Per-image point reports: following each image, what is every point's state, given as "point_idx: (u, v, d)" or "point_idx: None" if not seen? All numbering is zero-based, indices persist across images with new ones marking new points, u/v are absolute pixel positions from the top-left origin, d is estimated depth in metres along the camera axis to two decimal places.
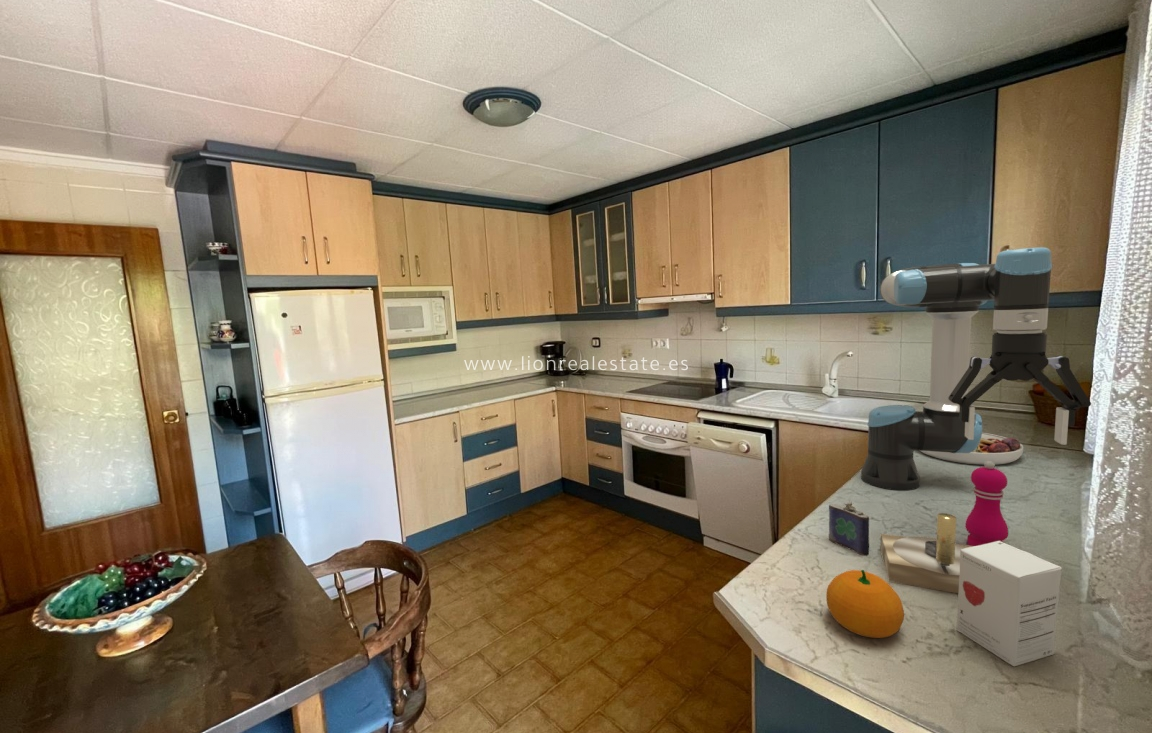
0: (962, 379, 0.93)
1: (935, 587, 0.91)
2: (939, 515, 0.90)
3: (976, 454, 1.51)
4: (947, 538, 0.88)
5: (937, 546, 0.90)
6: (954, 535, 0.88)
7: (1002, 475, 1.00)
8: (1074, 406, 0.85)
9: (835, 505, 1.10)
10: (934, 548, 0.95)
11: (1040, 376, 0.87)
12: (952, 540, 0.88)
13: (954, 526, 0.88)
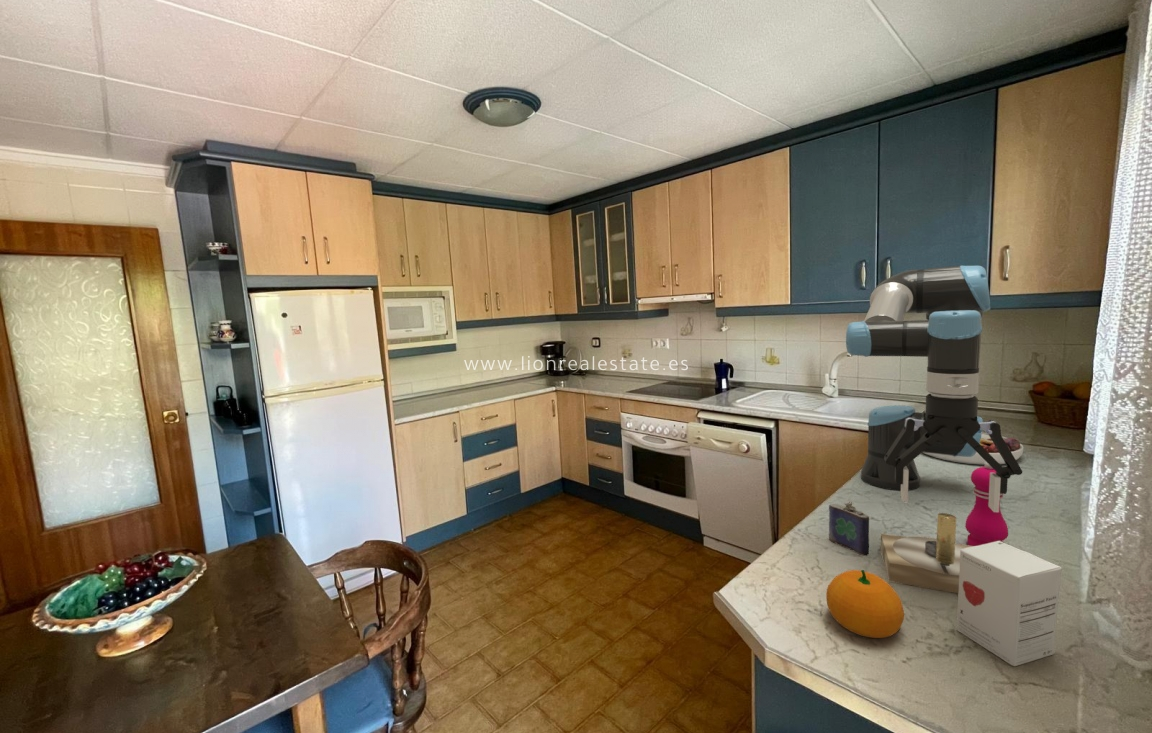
0: (896, 440, 0.91)
1: (935, 587, 0.91)
2: (939, 515, 0.90)
3: (976, 454, 1.51)
4: (947, 538, 0.88)
5: (937, 546, 0.90)
6: (954, 535, 0.88)
7: None
8: (1006, 474, 0.83)
9: (835, 505, 1.10)
10: (934, 548, 0.95)
11: (972, 441, 0.84)
12: (952, 540, 0.88)
13: (954, 526, 0.88)
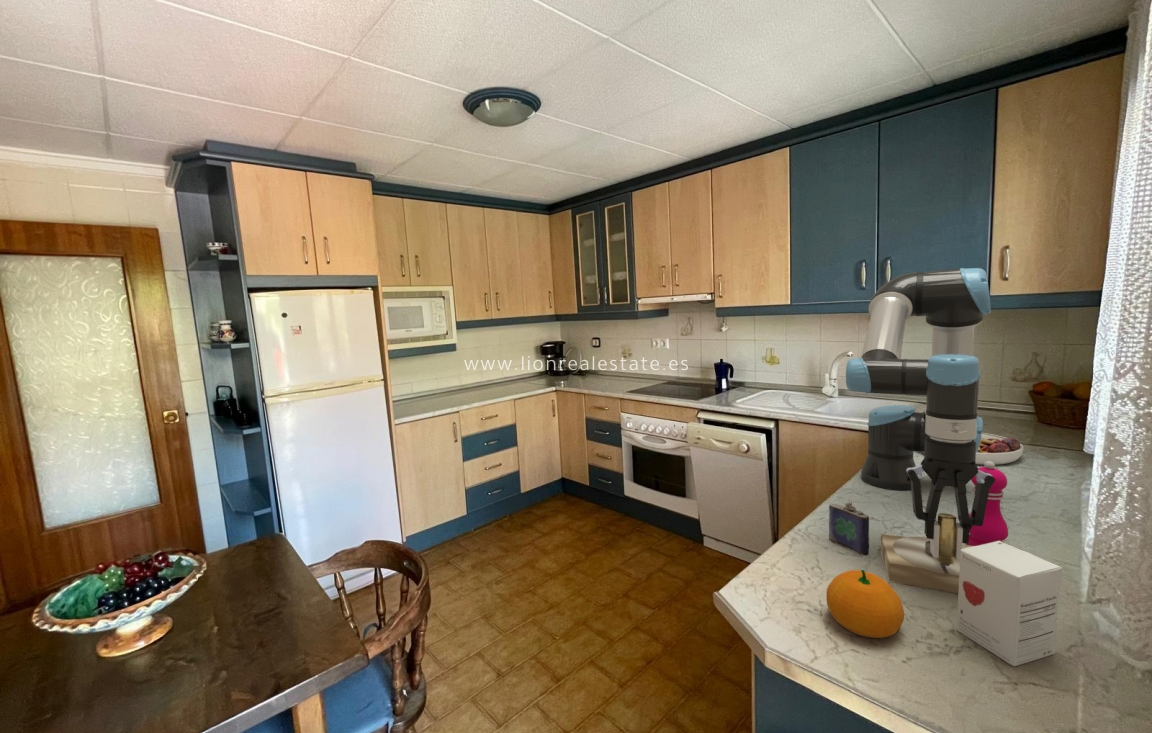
0: (912, 492, 0.91)
1: (935, 587, 0.91)
2: (939, 515, 0.90)
3: (976, 454, 1.51)
4: (947, 538, 0.88)
5: None
6: (954, 535, 0.88)
7: (1002, 475, 1.00)
8: (968, 525, 0.87)
9: (835, 505, 1.10)
10: None
11: (961, 487, 0.86)
12: (953, 540, 0.88)
13: (954, 526, 0.88)
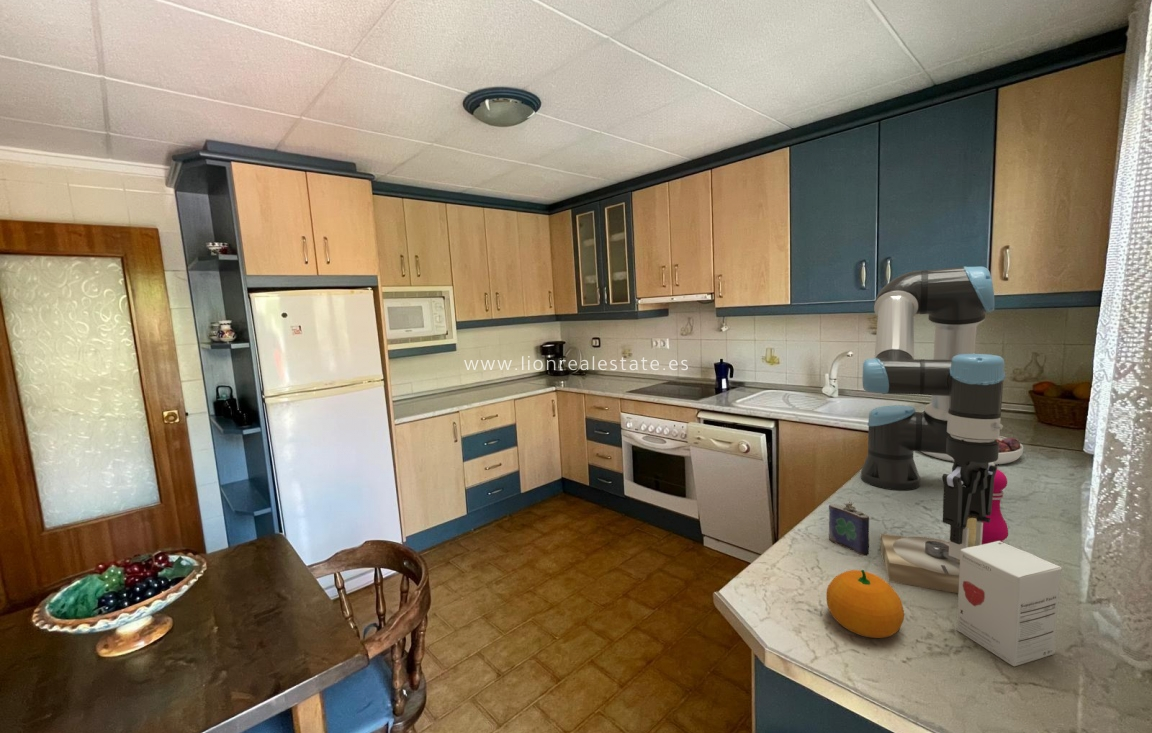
0: (949, 501, 0.86)
1: (935, 587, 0.91)
2: None
3: None
4: (972, 539, 0.88)
5: None
6: None
7: (1002, 475, 1.00)
8: (986, 518, 0.89)
9: (835, 505, 1.10)
10: (940, 549, 0.94)
11: (985, 483, 0.87)
12: (975, 540, 0.88)
13: None
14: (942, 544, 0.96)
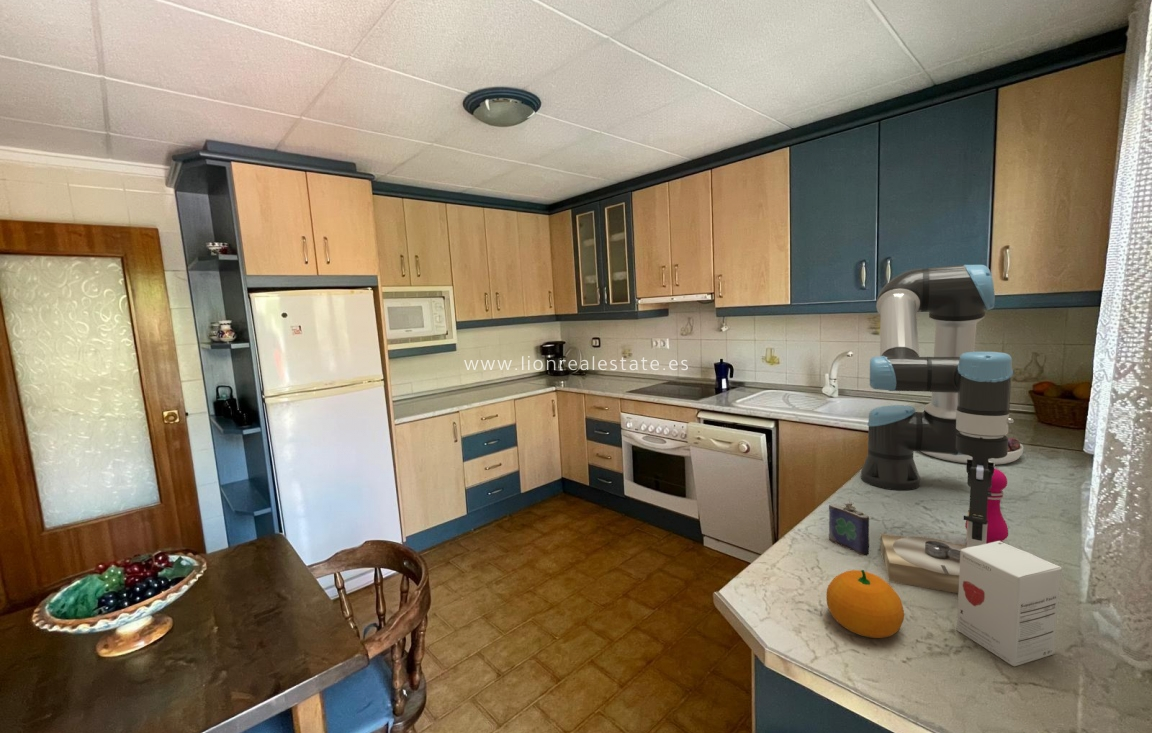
0: (977, 495, 0.84)
1: (935, 587, 0.91)
2: None
3: None
4: None
5: None
6: None
7: (1002, 475, 1.00)
8: (988, 492, 0.95)
9: (835, 505, 1.10)
10: (945, 549, 0.94)
11: None
12: None
13: None
14: (938, 543, 0.97)
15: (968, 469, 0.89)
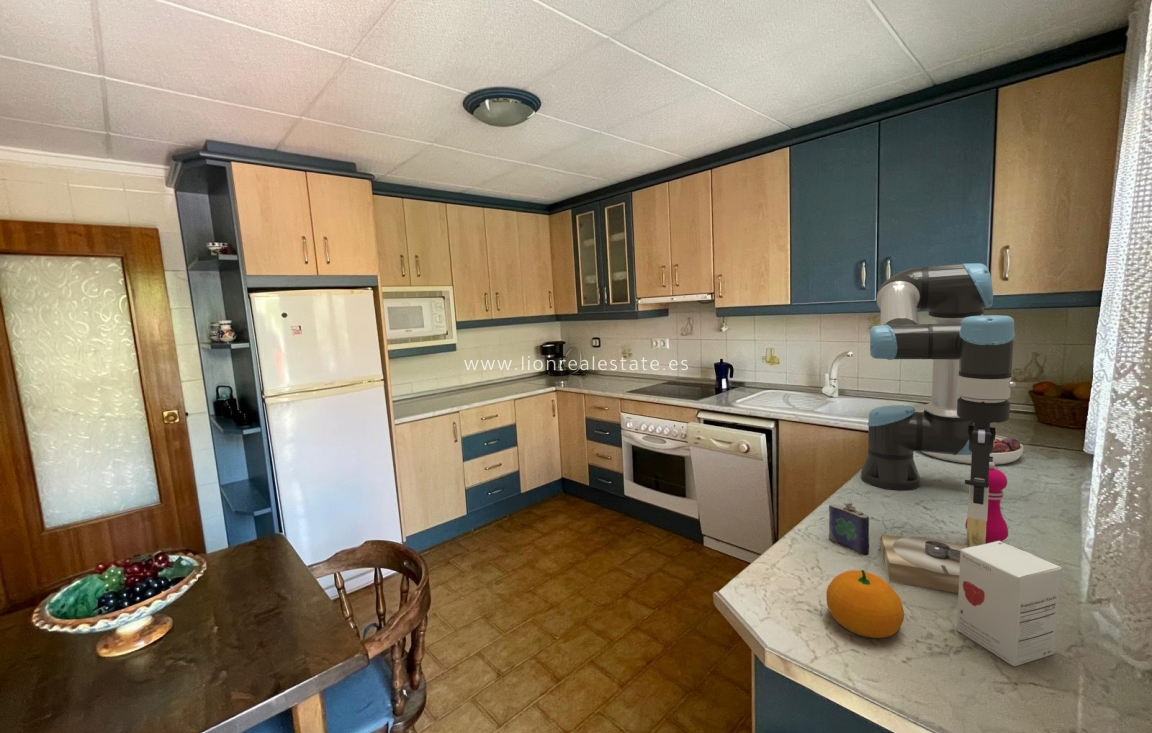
0: (978, 458, 0.83)
1: (935, 587, 0.91)
2: None
3: None
4: (985, 534, 0.89)
5: None
6: None
7: (1002, 475, 1.00)
8: (989, 458, 0.95)
9: (835, 505, 1.10)
10: (945, 549, 0.94)
11: None
12: None
13: None
14: (938, 543, 0.97)
15: (969, 434, 0.88)
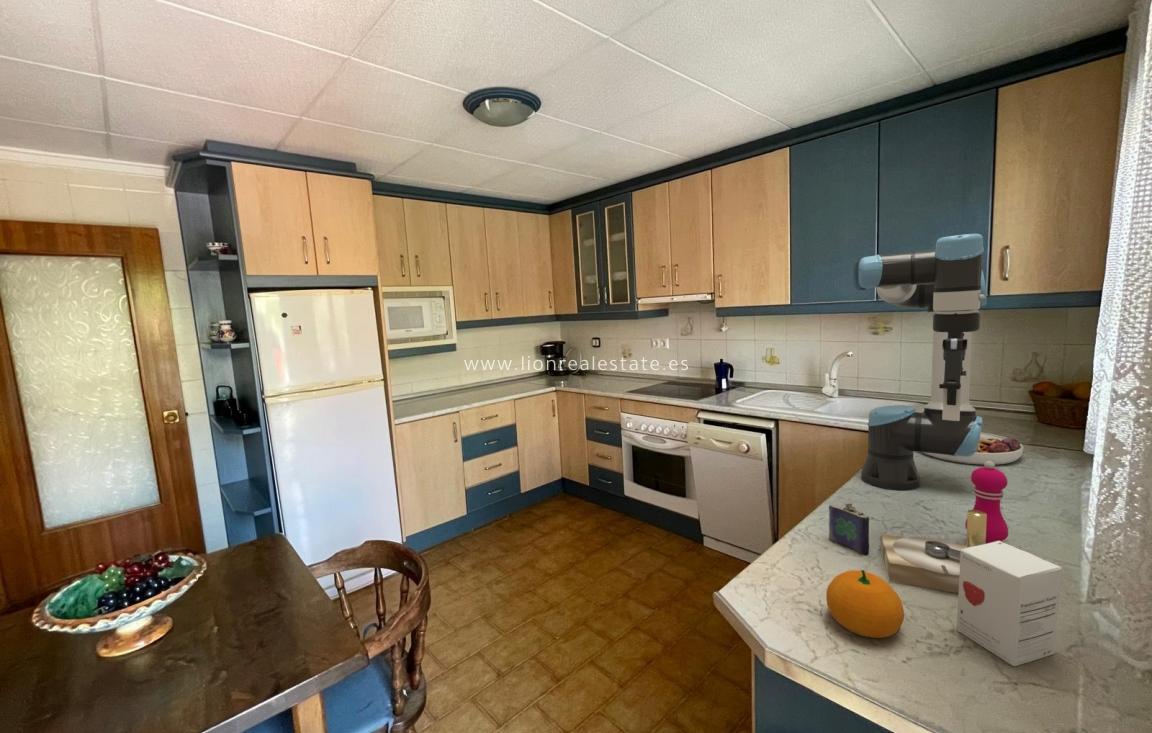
0: (951, 362, 0.91)
1: (935, 587, 0.91)
2: (975, 514, 0.89)
3: (976, 454, 1.51)
4: (985, 534, 0.89)
5: None
6: None
7: (1002, 475, 1.00)
8: (963, 372, 1.03)
9: (835, 505, 1.10)
10: (945, 549, 0.94)
11: (965, 350, 0.98)
12: None
13: None
14: (938, 543, 0.97)
15: (944, 345, 0.96)
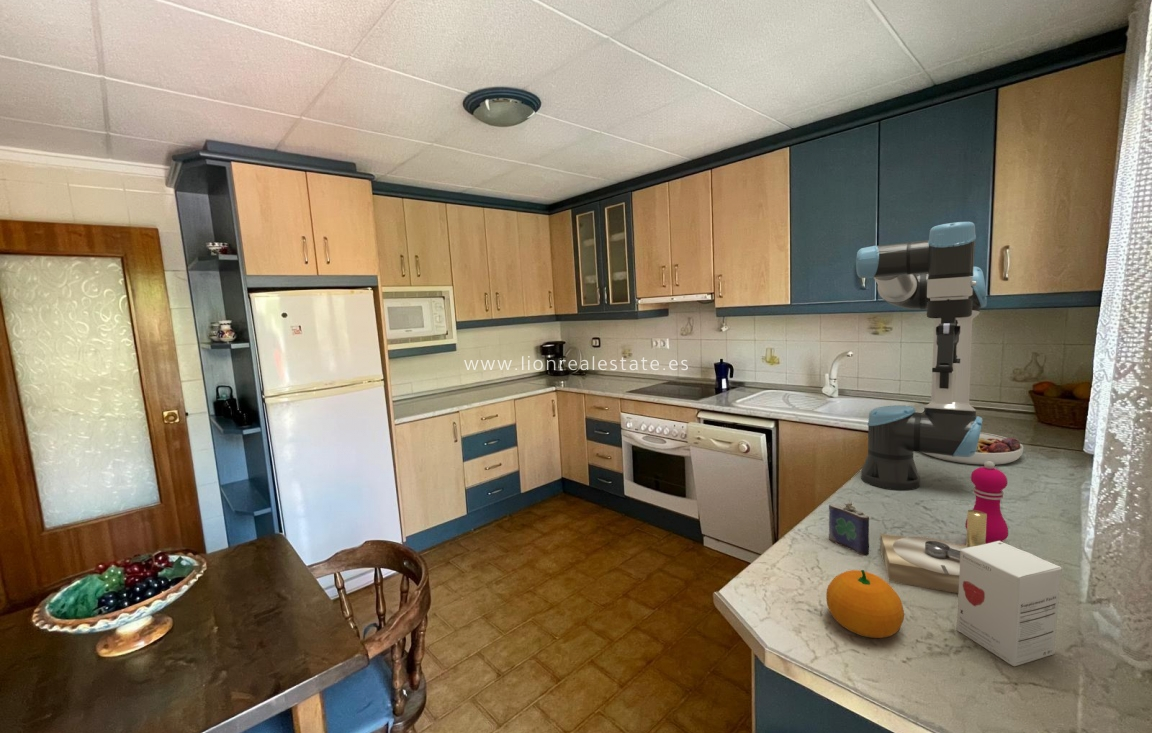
0: (943, 346, 0.94)
1: (935, 587, 0.91)
2: (975, 514, 0.89)
3: (976, 454, 1.51)
4: (985, 534, 0.89)
5: None
6: None
7: (1002, 475, 1.00)
8: (957, 359, 1.05)
9: (835, 505, 1.10)
10: (945, 549, 0.94)
11: (958, 336, 1.00)
12: None
13: None
14: (938, 543, 0.97)
15: (937, 331, 0.99)
